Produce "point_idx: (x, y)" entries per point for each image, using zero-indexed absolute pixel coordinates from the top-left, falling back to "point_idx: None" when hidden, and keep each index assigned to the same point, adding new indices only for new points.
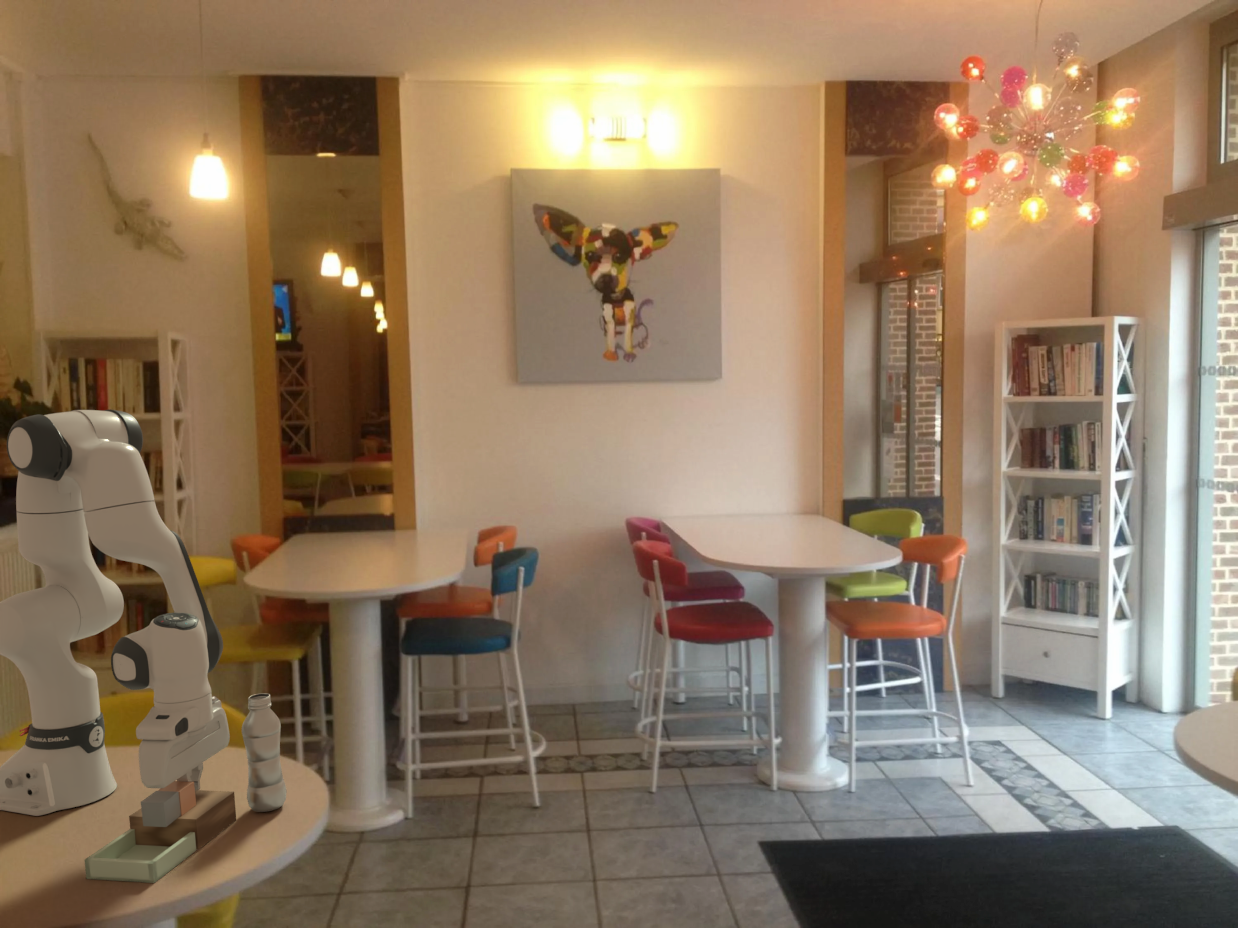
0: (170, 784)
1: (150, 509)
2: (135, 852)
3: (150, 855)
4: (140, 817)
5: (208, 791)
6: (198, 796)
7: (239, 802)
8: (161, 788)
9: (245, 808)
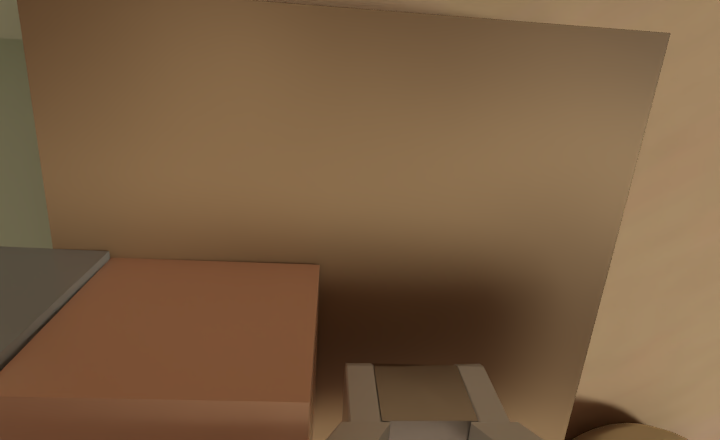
0: (200, 438)
1: None
2: (14, 105)
3: (6, 219)
4: (35, 111)
5: (562, 382)
6: (475, 358)
7: (705, 313)
8: (62, 402)
9: (621, 375)
